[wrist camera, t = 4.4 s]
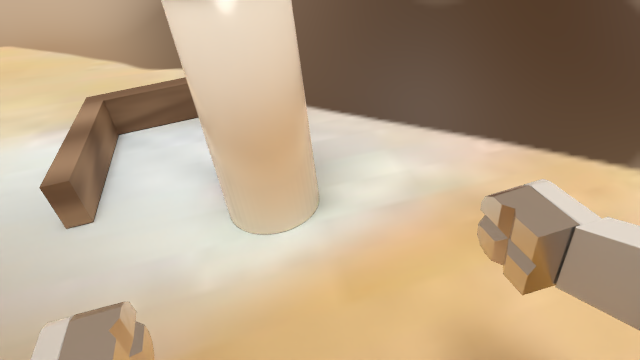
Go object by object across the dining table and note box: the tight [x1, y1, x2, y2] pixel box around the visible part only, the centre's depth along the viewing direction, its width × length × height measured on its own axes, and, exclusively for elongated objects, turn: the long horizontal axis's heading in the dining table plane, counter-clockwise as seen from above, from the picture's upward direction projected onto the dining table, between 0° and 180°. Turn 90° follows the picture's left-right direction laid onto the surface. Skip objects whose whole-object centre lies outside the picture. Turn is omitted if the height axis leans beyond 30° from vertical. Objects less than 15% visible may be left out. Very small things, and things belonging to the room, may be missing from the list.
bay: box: [39, 78, 198, 229], centre depth 29 cm, size 13×13×3 cm
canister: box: [161, 0, 319, 234], centre depth 19 cm, size 5×5×13 cm
